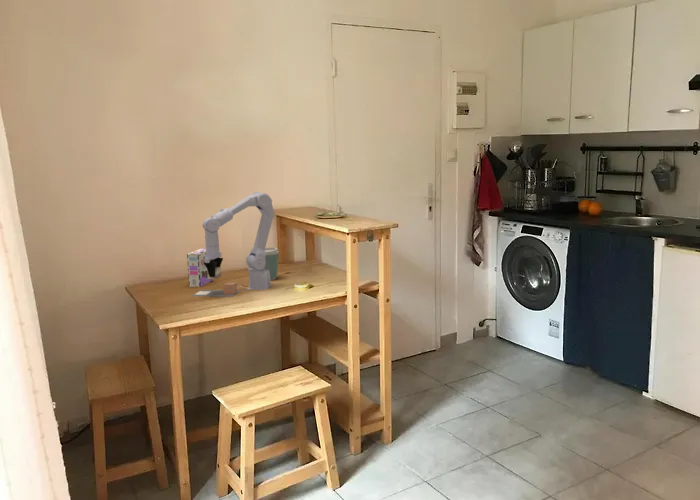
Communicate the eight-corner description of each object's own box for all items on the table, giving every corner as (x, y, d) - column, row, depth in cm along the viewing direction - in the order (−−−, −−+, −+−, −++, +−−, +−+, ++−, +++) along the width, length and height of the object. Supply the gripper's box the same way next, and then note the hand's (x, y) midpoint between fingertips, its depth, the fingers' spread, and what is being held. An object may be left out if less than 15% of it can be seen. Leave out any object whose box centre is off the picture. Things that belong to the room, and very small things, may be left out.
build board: (241, 291, 266) (241, 290, 266) (232, 298, 255) (232, 296, 255) (201, 291, 269) (201, 289, 269) (191, 297, 258) (191, 296, 258)
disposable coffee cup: (271, 282, 282) (269, 251, 280) (254, 279, 288) (252, 249, 285) (284, 277, 291) (283, 247, 289) (267, 275, 297) (266, 246, 294)
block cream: (221, 276, 263) (220, 267, 262) (217, 279, 258) (216, 269, 257) (211, 276, 263) (211, 266, 262) (207, 279, 259) (207, 269, 258)
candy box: (200, 288, 275) (197, 253, 272) (188, 287, 276) (186, 253, 273) (213, 281, 288) (210, 248, 285) (201, 281, 289) (199, 248, 286)
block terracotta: (237, 292, 263) (236, 282, 262) (233, 294, 258) (232, 284, 258) (227, 292, 263) (226, 282, 263) (223, 294, 259) (223, 284, 258)
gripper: (210, 242, 266) (212, 271, 268) (196, 248, 252) (199, 279, 254) (224, 242, 265) (226, 272, 267) (212, 248, 251) (214, 279, 253)
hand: (214, 275), depth 261 cm, fingers closed on block cream, 4 cm apart
